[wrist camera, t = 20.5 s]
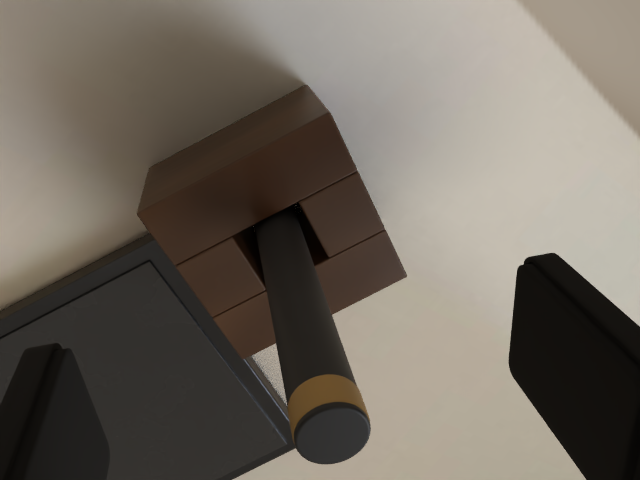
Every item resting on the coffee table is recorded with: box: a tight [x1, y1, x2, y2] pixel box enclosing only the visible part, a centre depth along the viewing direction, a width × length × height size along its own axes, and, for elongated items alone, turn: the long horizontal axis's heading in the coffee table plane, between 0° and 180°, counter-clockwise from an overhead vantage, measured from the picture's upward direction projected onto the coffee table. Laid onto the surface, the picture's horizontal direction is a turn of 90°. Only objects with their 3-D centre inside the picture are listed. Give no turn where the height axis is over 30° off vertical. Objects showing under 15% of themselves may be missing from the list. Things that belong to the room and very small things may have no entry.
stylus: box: [254, 204, 371, 464], centre depth 15 cm, size 1×1×12 cm
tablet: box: [0, 233, 296, 480], centre depth 23 cm, size 12×16×1 cm
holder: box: [137, 85, 407, 359], centre depth 19 cm, size 6×6×4 cm
